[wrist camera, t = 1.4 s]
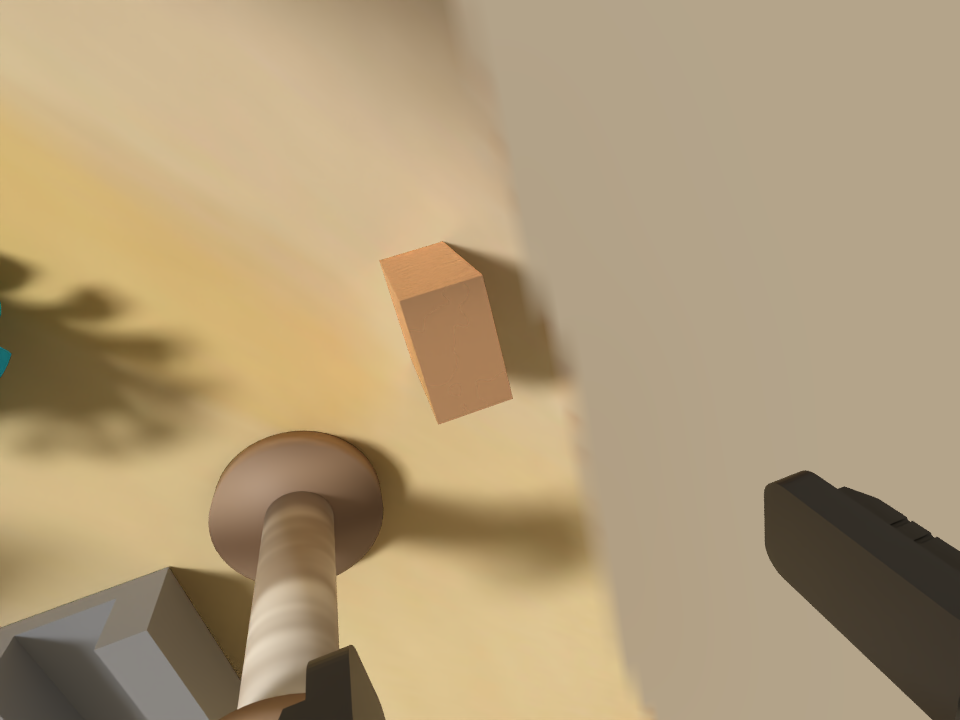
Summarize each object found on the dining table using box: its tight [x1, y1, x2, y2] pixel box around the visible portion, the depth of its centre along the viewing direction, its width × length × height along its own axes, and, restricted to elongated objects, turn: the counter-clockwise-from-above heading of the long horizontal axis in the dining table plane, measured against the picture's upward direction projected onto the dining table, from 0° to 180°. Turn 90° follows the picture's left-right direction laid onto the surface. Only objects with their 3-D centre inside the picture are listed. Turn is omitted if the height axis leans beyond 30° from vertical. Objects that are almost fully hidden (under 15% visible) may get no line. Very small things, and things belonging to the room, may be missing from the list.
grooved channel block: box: [0, 567, 241, 720], centre depth 28 cm, size 10×9×4 cm
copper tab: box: [379, 241, 513, 425], centre depth 23 cm, size 5×3×7 cm, turn 14°
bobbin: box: [209, 431, 383, 720], centre depth 22 cm, size 8×8×14 cm
